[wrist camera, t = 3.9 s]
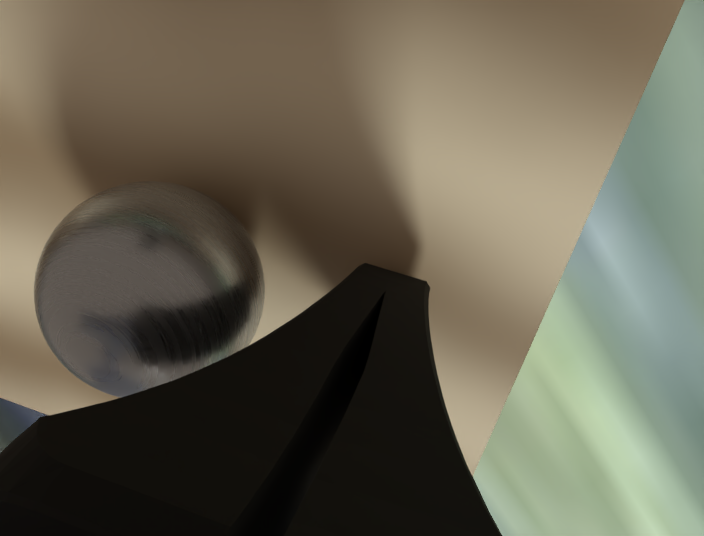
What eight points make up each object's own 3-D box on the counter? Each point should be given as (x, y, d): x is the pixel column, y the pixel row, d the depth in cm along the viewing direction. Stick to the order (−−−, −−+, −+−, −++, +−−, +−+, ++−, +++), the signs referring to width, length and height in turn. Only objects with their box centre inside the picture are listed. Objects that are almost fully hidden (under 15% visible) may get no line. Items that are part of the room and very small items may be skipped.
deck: (449, 482, 18) (436, 556, 16) (-240, 244, 22) (-321, 280, 20) (710, -148, 9) (753, -157, 7) (-540, -374, 13) (-744, -423, 11)
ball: (286, 336, 14) (200, 478, 10) (127, 285, 14) (0, 405, 11) (306, 179, 11) (205, 297, 8) (116, 126, 12) (-49, 216, 9)
